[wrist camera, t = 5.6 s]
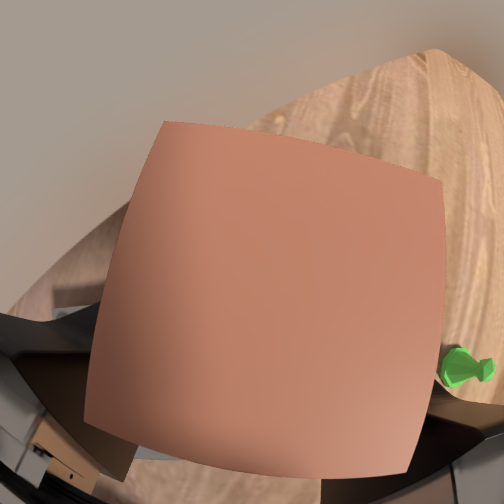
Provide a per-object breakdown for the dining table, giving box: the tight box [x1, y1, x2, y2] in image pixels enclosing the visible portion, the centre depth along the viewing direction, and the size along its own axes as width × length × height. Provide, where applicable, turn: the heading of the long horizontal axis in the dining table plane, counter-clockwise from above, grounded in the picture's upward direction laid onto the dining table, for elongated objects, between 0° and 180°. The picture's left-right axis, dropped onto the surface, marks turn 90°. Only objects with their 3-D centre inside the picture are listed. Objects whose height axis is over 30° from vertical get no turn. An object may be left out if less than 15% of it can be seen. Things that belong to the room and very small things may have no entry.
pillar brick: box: [84, 121, 446, 479], centre depth 9 cm, size 4×4×13 cm
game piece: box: [440, 348, 496, 387], centre depth 18 cm, size 4×4×6 cm
